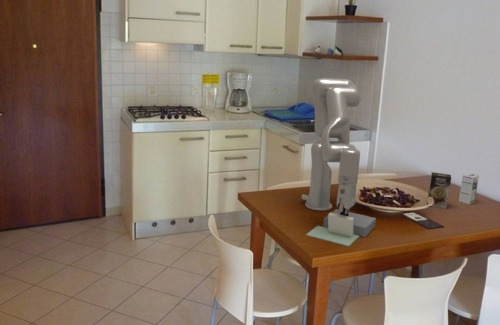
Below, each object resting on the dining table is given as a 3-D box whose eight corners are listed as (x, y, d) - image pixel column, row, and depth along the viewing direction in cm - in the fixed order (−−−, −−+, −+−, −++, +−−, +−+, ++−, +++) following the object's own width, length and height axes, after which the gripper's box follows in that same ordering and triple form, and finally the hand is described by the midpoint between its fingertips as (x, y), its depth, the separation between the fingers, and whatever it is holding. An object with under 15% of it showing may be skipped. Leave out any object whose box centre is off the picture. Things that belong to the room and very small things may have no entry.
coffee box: (426, 206, 238) (431, 174, 234) (426, 202, 244) (431, 171, 240) (446, 209, 235) (451, 177, 231) (445, 205, 241) (450, 174, 237)
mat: (306, 235, 194) (306, 234, 194) (317, 226, 204) (317, 225, 204) (348, 246, 185) (348, 245, 185) (359, 236, 196) (359, 235, 195)
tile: (330, 228, 200) (328, 231, 199) (330, 212, 197) (328, 214, 195) (353, 234, 195) (351, 237, 194) (353, 217, 192) (352, 220, 190)
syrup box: (469, 204, 244) (474, 177, 240) (458, 201, 248) (462, 174, 245) (474, 202, 247) (479, 175, 244) (463, 199, 252) (468, 172, 248)
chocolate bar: (428, 228, 207) (400, 214, 223) (427, 230, 208) (400, 216, 224) (444, 226, 211) (415, 212, 227) (444, 228, 211) (415, 214, 227)
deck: (323, 226, 204) (324, 218, 203) (335, 217, 216) (336, 209, 215) (364, 237, 195) (365, 228, 194) (374, 226, 207) (376, 218, 206)
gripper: (350, 185, 185) (345, 230, 189) (362, 176, 197) (358, 219, 202) (332, 181, 188) (327, 225, 193) (345, 173, 201) (341, 215, 205)
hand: (343, 222), depth 197 cm, fingers closed
